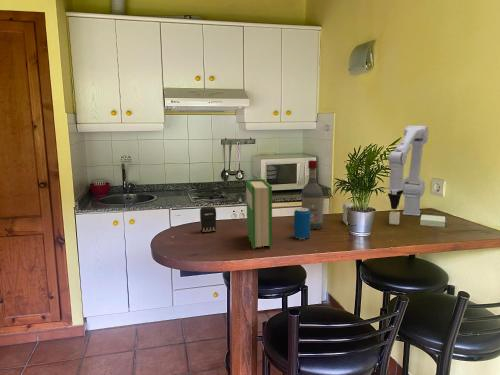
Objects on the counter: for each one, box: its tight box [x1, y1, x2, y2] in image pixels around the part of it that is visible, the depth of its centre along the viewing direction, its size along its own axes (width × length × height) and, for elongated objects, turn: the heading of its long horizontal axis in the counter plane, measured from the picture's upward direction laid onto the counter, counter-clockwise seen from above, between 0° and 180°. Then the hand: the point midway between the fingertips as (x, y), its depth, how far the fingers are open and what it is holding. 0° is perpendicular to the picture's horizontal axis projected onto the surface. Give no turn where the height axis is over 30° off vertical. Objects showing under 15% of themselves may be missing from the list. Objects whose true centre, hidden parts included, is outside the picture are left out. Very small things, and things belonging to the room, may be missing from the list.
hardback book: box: [245, 178, 273, 248], centre depth 154 cm, size 18×7×24 cm, turn 7°
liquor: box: [301, 159, 324, 230], centre depth 174 cm, size 9×9×30 cm
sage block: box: [419, 214, 446, 228], centre depth 179 cm, size 10×10×2 cm
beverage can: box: [293, 207, 311, 240], centre depth 160 cm, size 6×6×12 cm
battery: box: [199, 205, 217, 231], centre depth 170 cm, size 7×4×11 cm, turn 102°
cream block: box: [388, 211, 401, 225], centre depth 180 cm, size 4×4×5 cm
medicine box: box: [342, 202, 353, 226], centre depth 181 cm, size 8×4×9 cm, turn 179°
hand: (394, 207), depth 179 cm, fingers open, 7 cm apart
